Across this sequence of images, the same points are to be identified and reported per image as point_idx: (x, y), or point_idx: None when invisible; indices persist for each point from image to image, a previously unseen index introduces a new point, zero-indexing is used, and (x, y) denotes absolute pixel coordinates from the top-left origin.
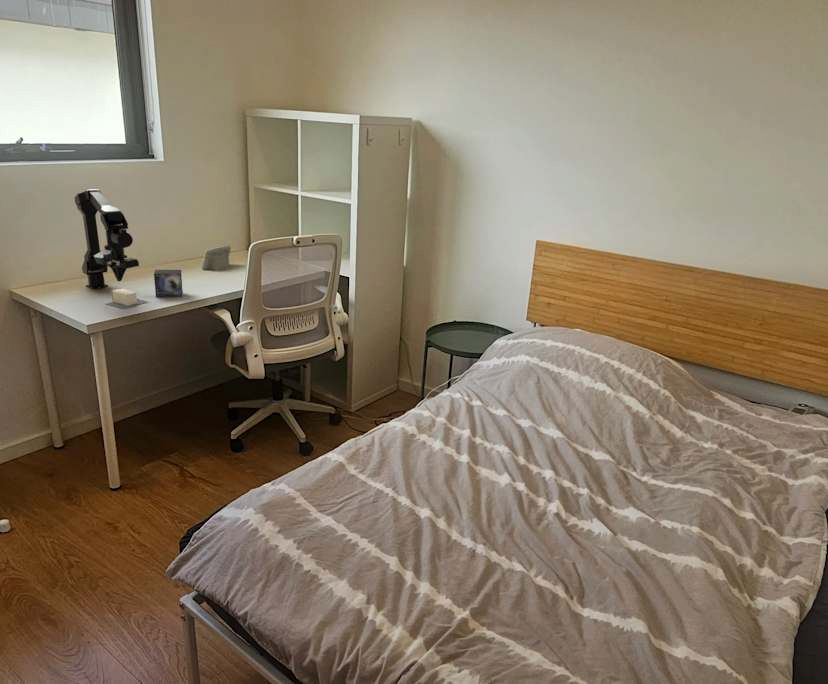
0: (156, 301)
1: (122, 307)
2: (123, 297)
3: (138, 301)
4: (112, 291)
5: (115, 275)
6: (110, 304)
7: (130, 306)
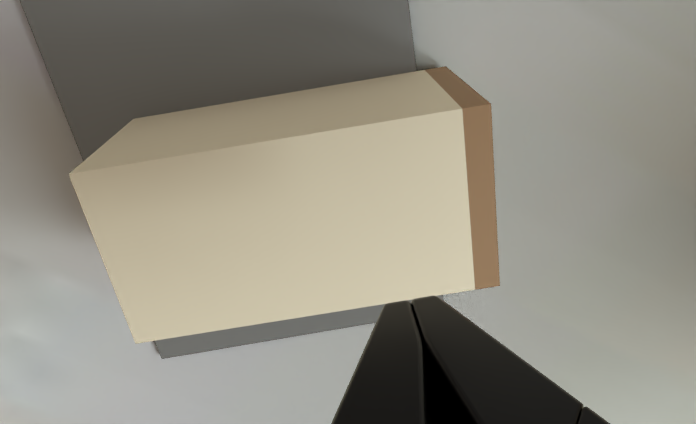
0: (147, 419)
1: (80, 26)
2: (173, 139)
3: None
4: (458, 105)
5: (489, 368)
6: None
7: (73, 131)
